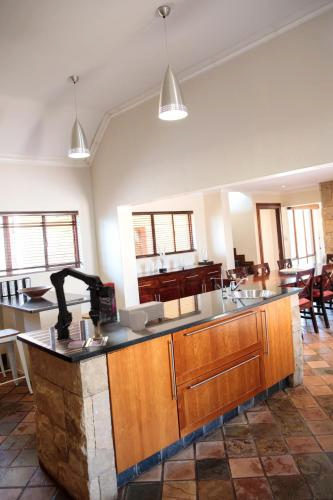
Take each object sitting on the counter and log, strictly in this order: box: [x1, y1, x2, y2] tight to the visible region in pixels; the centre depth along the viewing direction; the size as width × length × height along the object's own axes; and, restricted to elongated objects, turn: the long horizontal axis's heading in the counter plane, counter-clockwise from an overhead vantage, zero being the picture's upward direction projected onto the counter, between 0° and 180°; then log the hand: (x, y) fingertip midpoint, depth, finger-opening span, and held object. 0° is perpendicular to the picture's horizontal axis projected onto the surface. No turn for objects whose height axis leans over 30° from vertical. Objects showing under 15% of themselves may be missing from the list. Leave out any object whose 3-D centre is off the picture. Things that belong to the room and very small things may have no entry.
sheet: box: [84, 336, 109, 348], centre depth 210 cm, size 11×18×1 cm, turn 4°
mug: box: [130, 311, 149, 333], centre depth 233 cm, size 12×9×11 cm
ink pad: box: [67, 340, 86, 349], centre depth 205 cm, size 8×9×2 cm
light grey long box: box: [118, 300, 165, 328], centre depth 257 cm, size 32×11×11 cm, turn 135°
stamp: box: [91, 321, 103, 341], centre depth 215 cm, size 5×5×10 cm
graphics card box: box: [97, 281, 119, 326], centre depth 257 cm, size 17×7×27 cm, turn 137°
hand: (97, 324), depth 215 cm, fingers open, 9 cm apart
